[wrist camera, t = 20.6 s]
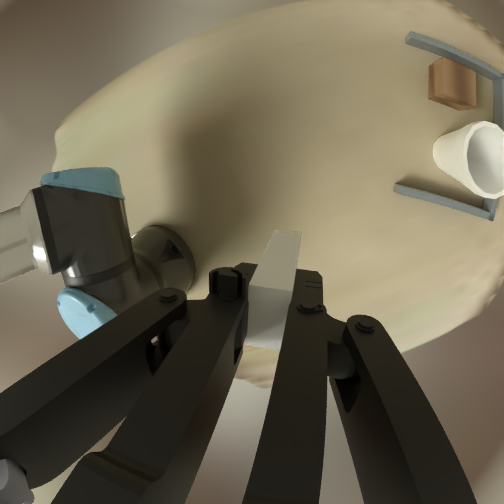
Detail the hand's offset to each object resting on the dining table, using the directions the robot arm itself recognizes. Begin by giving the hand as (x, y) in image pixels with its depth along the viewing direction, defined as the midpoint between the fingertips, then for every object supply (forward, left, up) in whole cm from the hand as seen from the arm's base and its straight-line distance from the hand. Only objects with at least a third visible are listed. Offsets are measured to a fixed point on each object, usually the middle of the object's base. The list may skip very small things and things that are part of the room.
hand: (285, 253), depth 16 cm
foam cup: (+22, +10, -28) cm, 37 cm away
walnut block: (+21, +21, -28) cm, 41 cm away
